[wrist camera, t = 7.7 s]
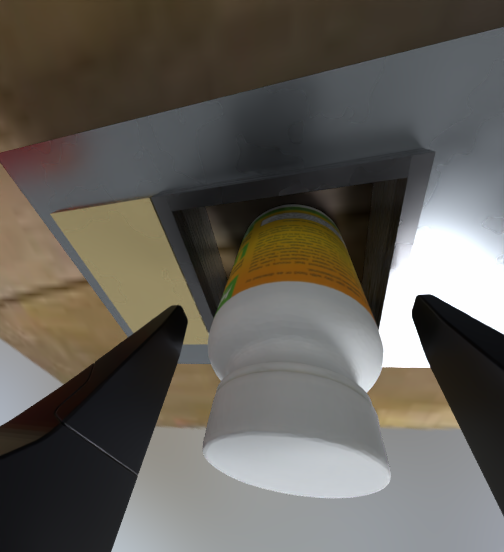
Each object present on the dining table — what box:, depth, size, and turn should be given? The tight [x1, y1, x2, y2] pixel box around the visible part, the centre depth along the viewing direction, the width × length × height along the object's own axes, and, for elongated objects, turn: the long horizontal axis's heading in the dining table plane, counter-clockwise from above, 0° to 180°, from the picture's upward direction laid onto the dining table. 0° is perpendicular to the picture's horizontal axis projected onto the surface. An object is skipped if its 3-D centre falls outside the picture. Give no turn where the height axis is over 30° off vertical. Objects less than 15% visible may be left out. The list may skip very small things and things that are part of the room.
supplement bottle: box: [203, 204, 391, 498], centre depth 9 cm, size 5×5×10 cm
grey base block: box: [0, 27, 504, 367], centre depth 11 cm, size 22×14×3 cm, turn 101°
